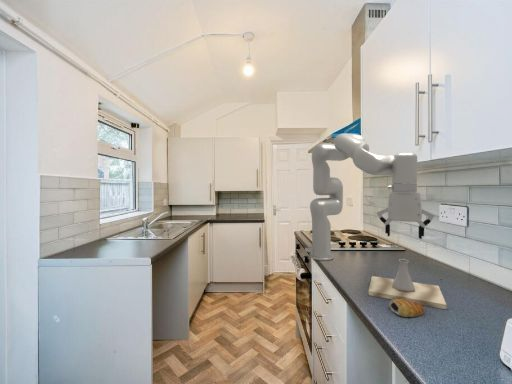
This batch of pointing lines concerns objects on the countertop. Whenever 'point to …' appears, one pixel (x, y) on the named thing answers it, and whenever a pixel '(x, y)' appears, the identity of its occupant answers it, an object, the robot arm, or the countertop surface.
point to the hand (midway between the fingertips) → (403, 236)
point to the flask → (403, 277)
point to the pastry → (406, 308)
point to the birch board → (421, 295)
